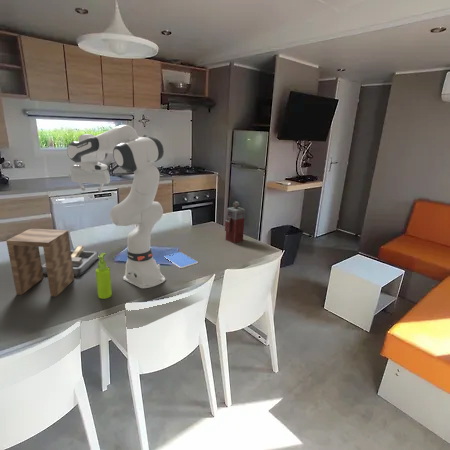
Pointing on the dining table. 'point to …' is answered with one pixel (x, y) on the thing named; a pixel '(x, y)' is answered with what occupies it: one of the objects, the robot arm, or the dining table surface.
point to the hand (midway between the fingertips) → (91, 191)
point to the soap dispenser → (103, 278)
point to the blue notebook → (181, 260)
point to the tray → (87, 260)
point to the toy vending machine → (235, 223)
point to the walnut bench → (31, 263)
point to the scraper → (75, 255)
